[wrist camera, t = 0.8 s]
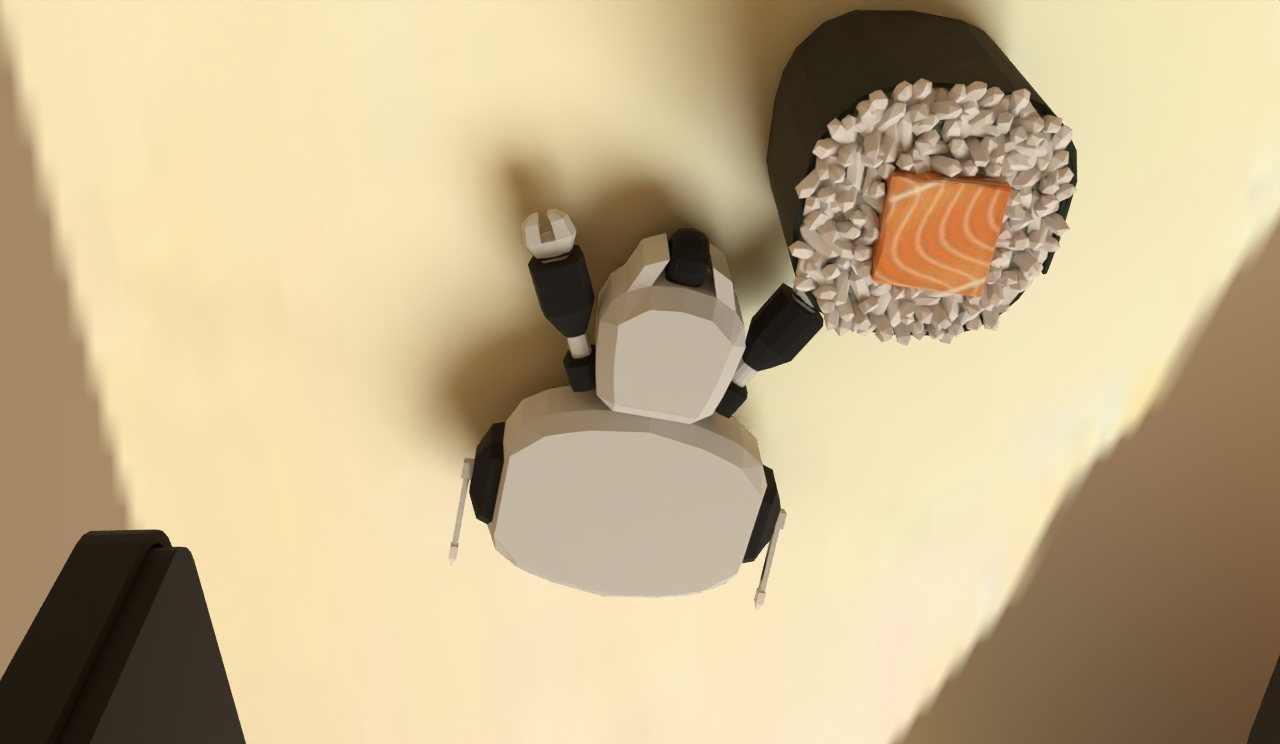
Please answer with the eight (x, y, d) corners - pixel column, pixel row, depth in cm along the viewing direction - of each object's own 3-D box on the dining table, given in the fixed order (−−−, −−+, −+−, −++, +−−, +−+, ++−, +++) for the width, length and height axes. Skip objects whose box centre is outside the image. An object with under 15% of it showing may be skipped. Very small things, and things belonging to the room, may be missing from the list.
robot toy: (516, 167, 42) (453, 515, 49) (508, 215, 38) (442, 586, 45) (853, 233, 44) (746, 560, 51) (879, 285, 40) (760, 633, 47)
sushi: (1035, 12, 39) (1125, 103, 32) (971, 247, 43) (1037, 368, 36) (784, -11, 38) (822, 76, 31) (746, 229, 42) (772, 350, 36)
